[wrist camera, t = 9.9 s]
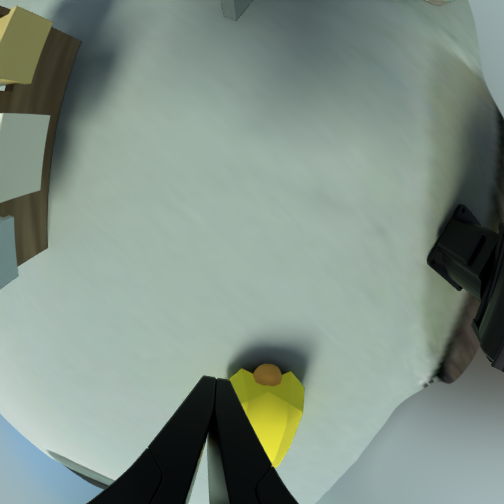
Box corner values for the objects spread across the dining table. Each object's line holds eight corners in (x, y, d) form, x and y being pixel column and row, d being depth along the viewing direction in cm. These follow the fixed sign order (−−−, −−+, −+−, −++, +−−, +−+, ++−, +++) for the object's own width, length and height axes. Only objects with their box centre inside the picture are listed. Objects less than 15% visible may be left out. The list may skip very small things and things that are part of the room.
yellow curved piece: (308, 355, 24) (226, 350, 24) (322, 409, 18) (219, 407, 17) (277, 445, 30) (220, 443, 30) (280, 485, 24) (217, 483, 24)
